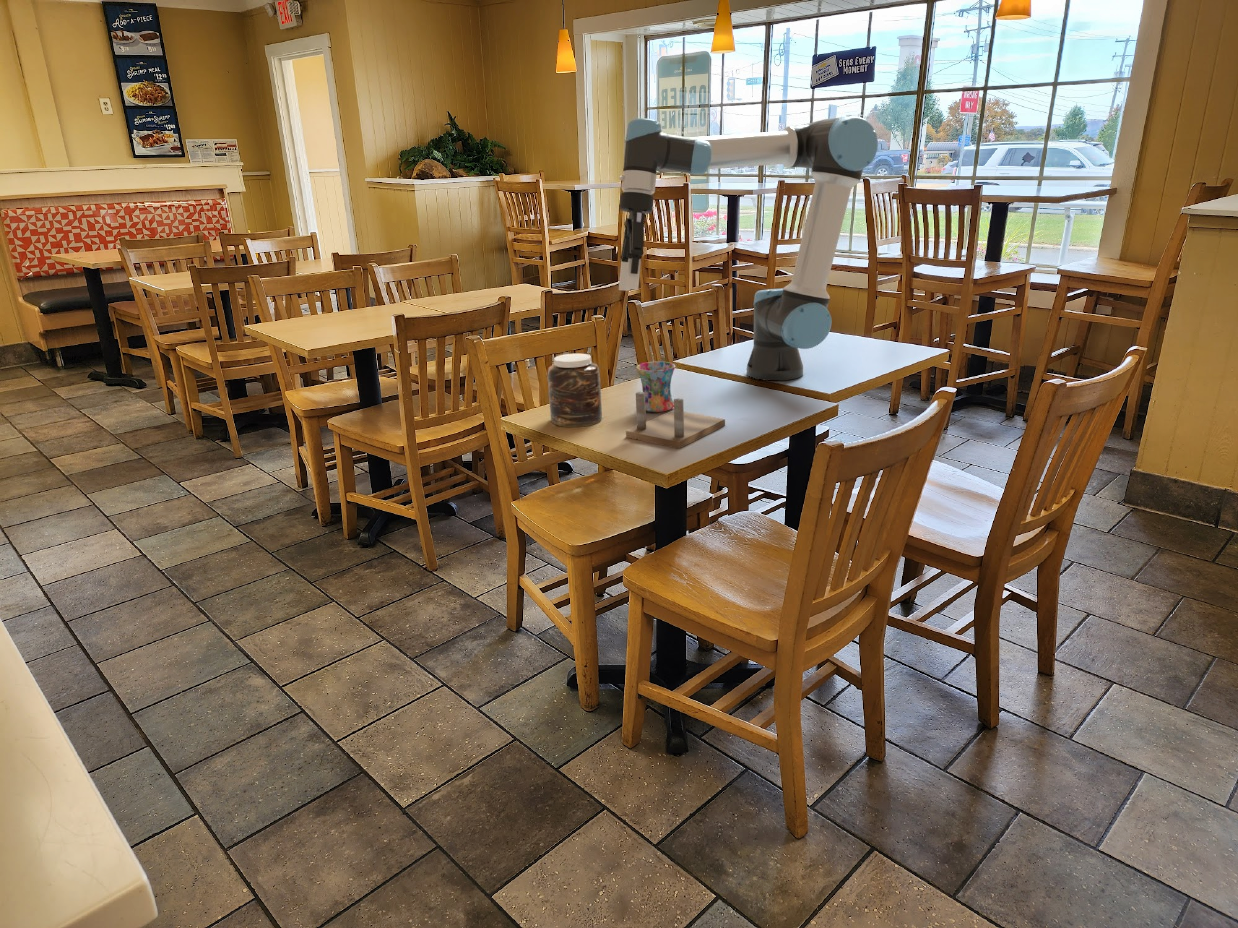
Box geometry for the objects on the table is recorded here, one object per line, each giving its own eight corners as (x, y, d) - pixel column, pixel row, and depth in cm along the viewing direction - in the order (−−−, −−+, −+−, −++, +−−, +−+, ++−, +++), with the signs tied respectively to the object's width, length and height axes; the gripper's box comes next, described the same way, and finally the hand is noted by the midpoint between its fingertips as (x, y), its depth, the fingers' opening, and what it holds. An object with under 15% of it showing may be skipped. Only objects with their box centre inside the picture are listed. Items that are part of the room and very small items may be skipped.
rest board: (673, 415, 189) (672, 376, 186) (725, 425, 181) (725, 384, 178) (626, 437, 176) (624, 395, 173) (679, 448, 168) (678, 404, 165)
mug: (665, 416, 189) (664, 372, 186) (631, 412, 194) (629, 369, 190) (687, 402, 199) (686, 360, 195) (653, 399, 204) (652, 357, 200)
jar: (583, 409, 198) (579, 349, 192) (611, 419, 189) (608, 357, 184) (542, 420, 191) (537, 357, 186) (569, 431, 182) (564, 366, 177)
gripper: (614, 198, 193) (606, 289, 197) (627, 183, 169) (617, 287, 172) (645, 202, 194) (636, 292, 198) (663, 187, 169) (652, 290, 173)
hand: (627, 290), depth 185 cm, fingers open, 13 cm apart
